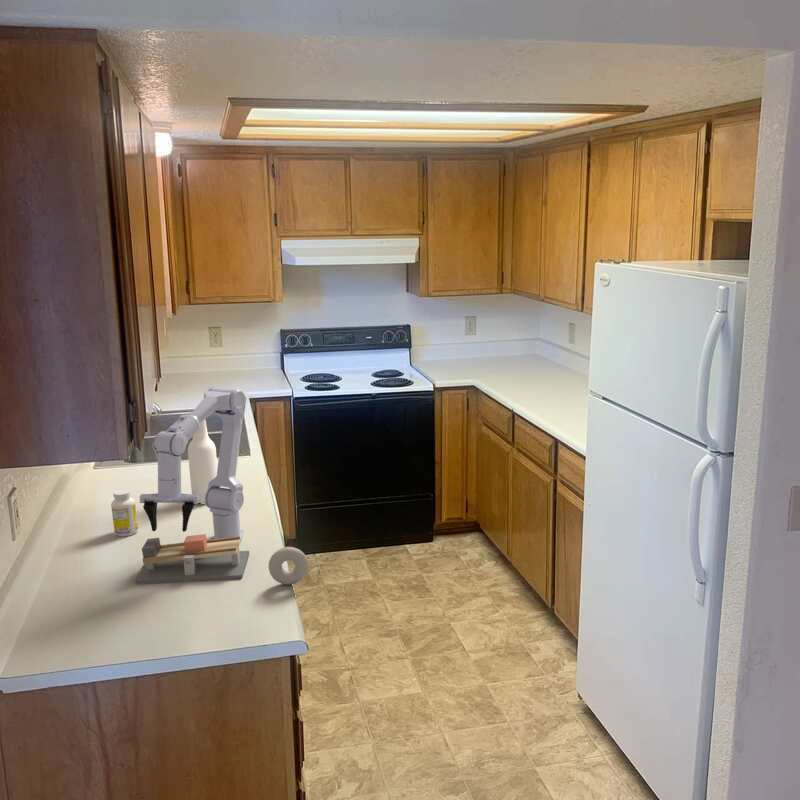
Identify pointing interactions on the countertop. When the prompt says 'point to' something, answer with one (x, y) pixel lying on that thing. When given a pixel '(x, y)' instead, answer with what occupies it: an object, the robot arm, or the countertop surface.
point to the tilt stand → (195, 569)
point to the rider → (195, 543)
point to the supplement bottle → (124, 513)
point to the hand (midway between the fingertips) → (169, 530)
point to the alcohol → (202, 462)
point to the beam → (177, 551)
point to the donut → (290, 555)
